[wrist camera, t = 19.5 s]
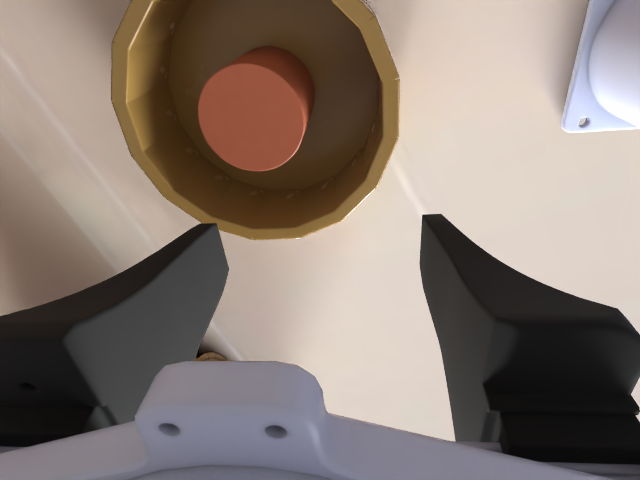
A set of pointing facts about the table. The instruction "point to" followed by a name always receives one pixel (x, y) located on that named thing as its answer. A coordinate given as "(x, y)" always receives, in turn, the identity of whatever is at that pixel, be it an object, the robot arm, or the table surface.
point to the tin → (322, 129)
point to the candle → (257, 108)
